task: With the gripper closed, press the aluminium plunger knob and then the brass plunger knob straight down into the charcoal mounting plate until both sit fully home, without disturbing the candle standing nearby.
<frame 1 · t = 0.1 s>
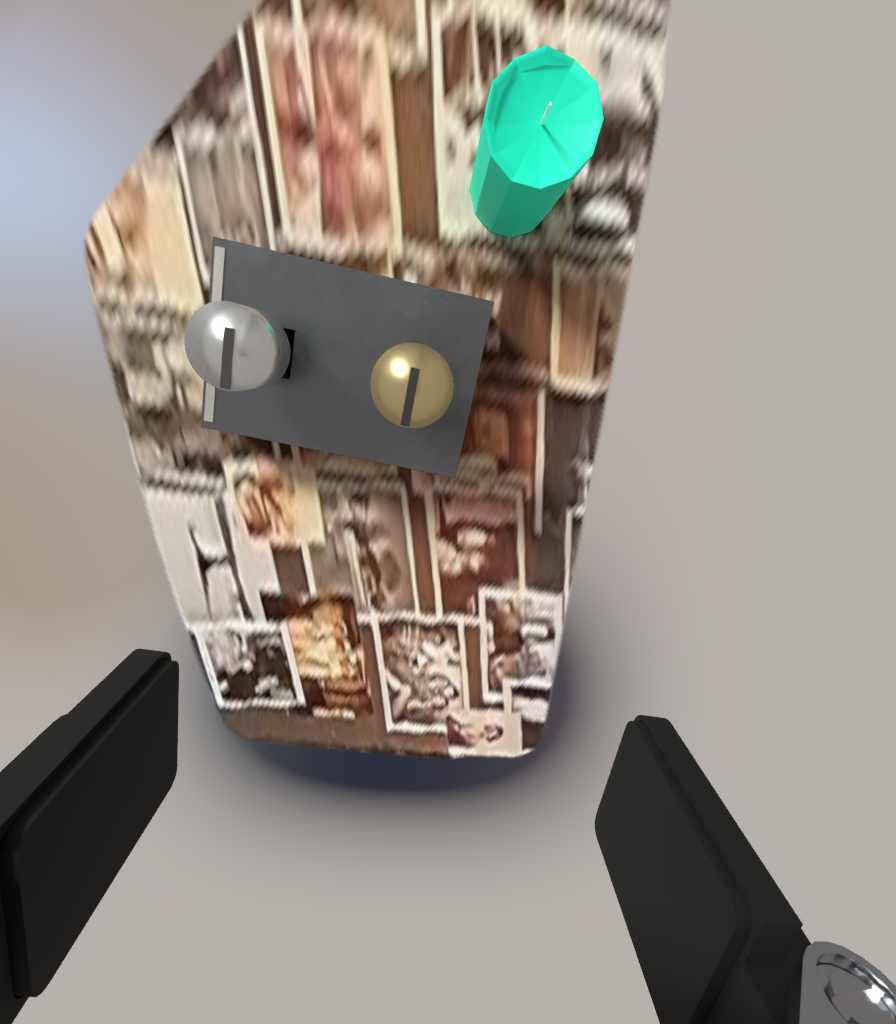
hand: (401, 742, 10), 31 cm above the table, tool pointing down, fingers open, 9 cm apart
mount: (355, 365, 38), on the table
candle: (511, 190, 35), on the table
knob b: (414, 383, 31), point 8 cm above the table, slide at 0.0 cm
knob a: (254, 349, 30), point 8 cm above the table, slide at 0.0 cm
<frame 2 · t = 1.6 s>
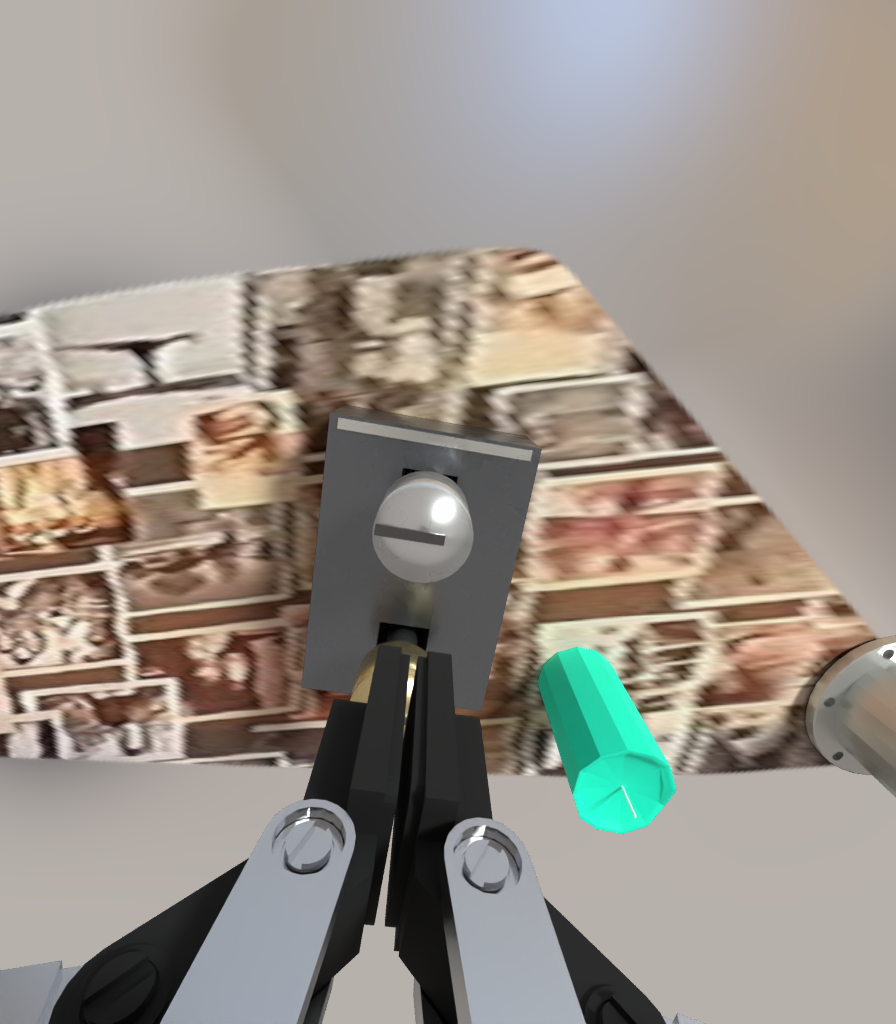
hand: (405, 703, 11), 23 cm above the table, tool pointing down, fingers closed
mount: (416, 547, 35), on the table
candle: (575, 679, 38), on the table
knob b: (398, 671, 29), point 8 cm above the table, slide at 0.0 cm
knob a: (425, 511, 26), point 8 cm above the table, slide at 0.0 cm
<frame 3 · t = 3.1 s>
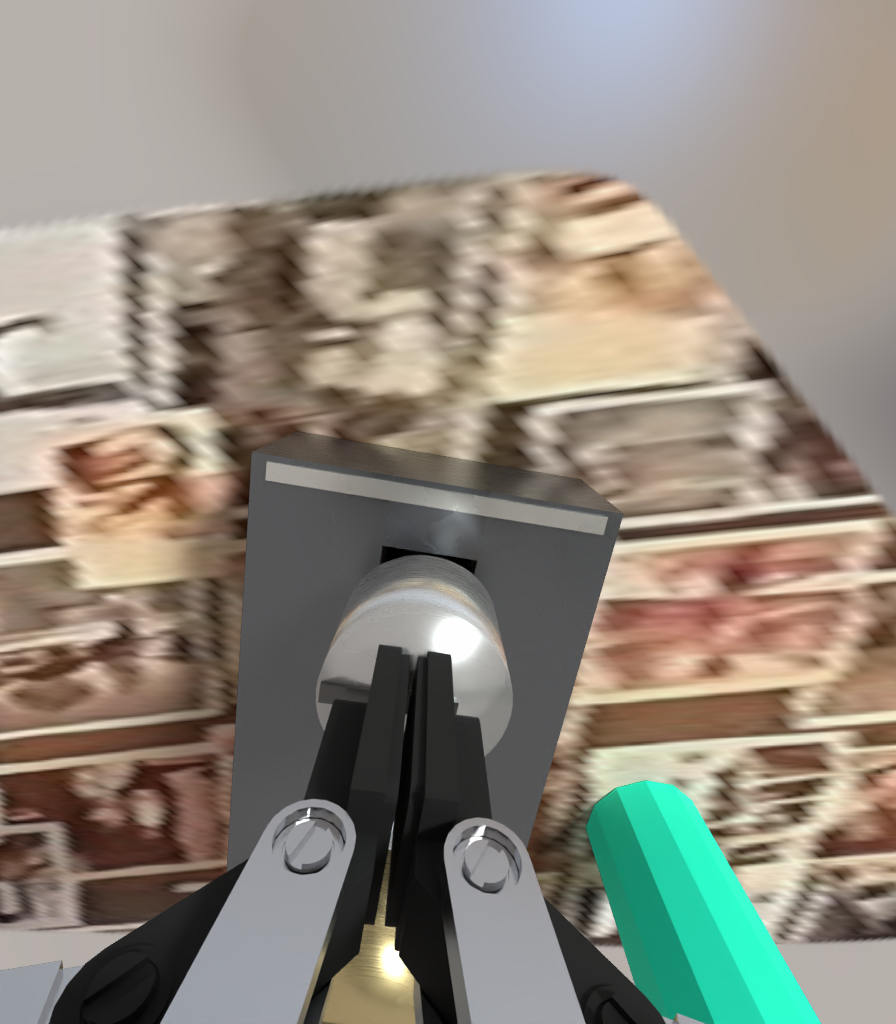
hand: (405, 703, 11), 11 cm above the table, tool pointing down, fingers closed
mount: (409, 643, 23), on the table
candle: (639, 821, 26), on the table
knob b: (374, 887, 17), point 8 cm above the table, slide at 0.0 cm
knob a: (420, 619, 15), point 7 cm above the table, slide at 1.0 cm, touching gripper
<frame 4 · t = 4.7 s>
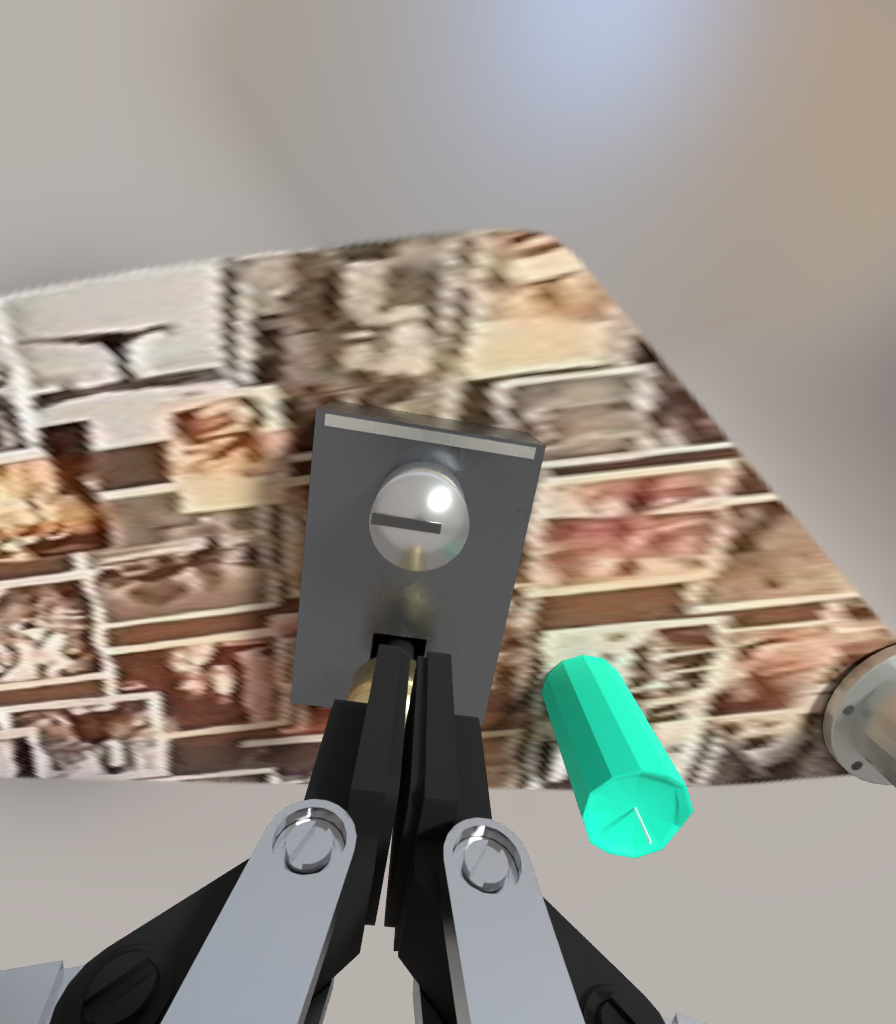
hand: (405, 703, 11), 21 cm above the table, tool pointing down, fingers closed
mount: (412, 551, 33), on the table
candle: (580, 688, 36), on the table
knob b: (393, 687, 27), point 8 cm above the table, slide at 0.0 cm
knob a: (421, 501, 26), point 5 cm above the table, slide at 2.4 cm
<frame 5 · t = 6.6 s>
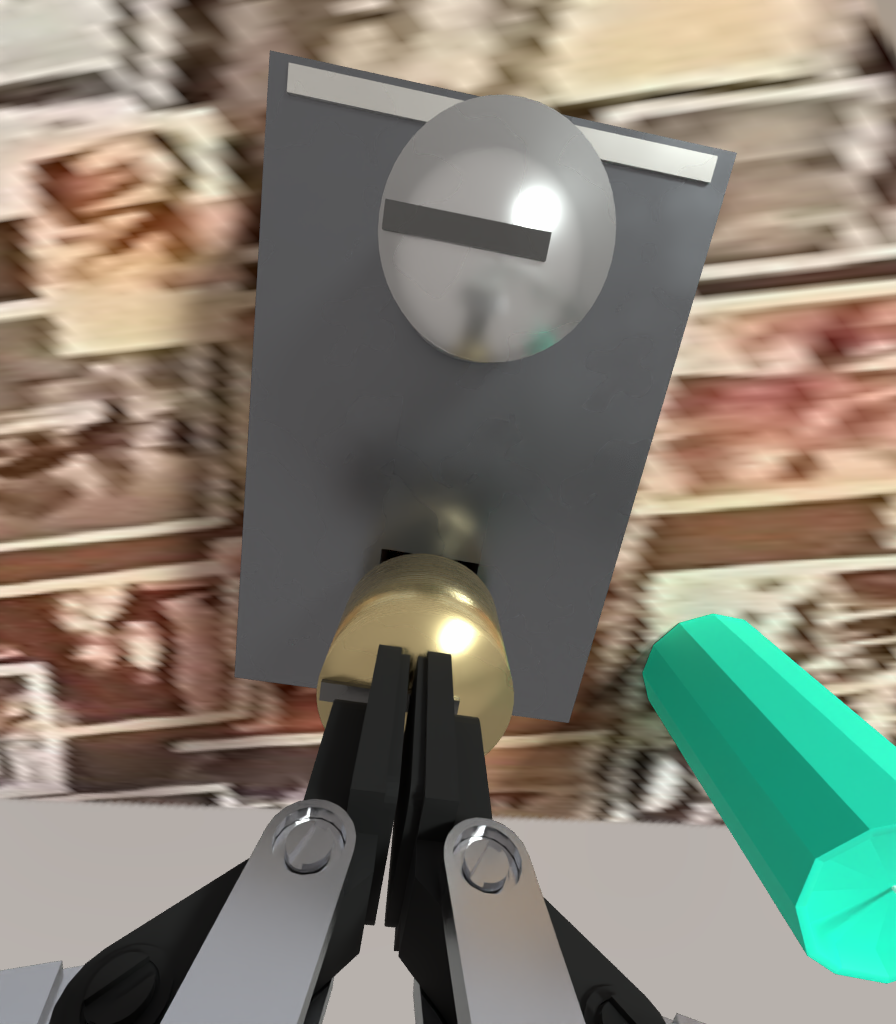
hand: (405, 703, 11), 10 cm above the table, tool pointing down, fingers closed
mount: (446, 431, 20), on the table
candle: (703, 667, 23), on the table
knob b: (421, 617, 15), point 6 cm above the table, slide at 1.4 cm, touching gripper
knob a: (481, 273, 13), point 5 cm above the table, slide at 2.4 cm
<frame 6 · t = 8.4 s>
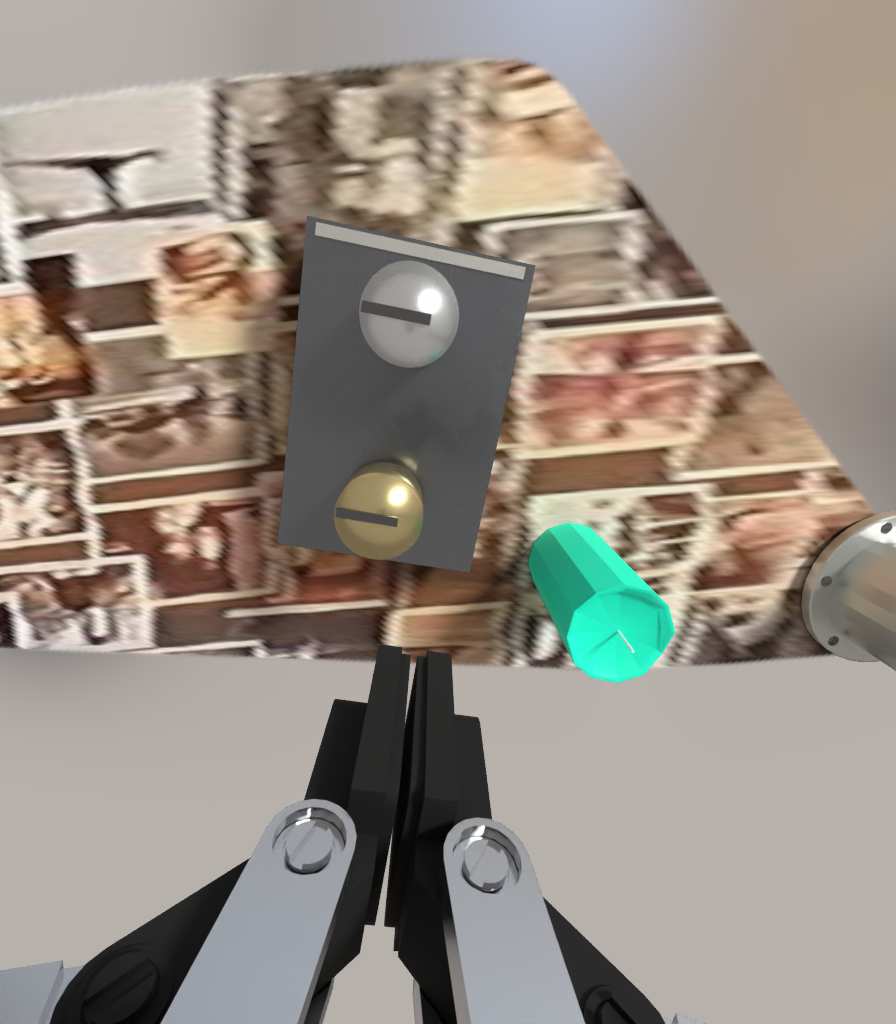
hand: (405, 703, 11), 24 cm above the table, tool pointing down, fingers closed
mount: (401, 406, 33), on the table
candle: (566, 559, 37), on the table
knob b: (384, 498, 29), point 5 cm above the table, slide at 2.4 cm
knob a: (411, 322, 26), point 5 cm above the table, slide at 2.4 cm
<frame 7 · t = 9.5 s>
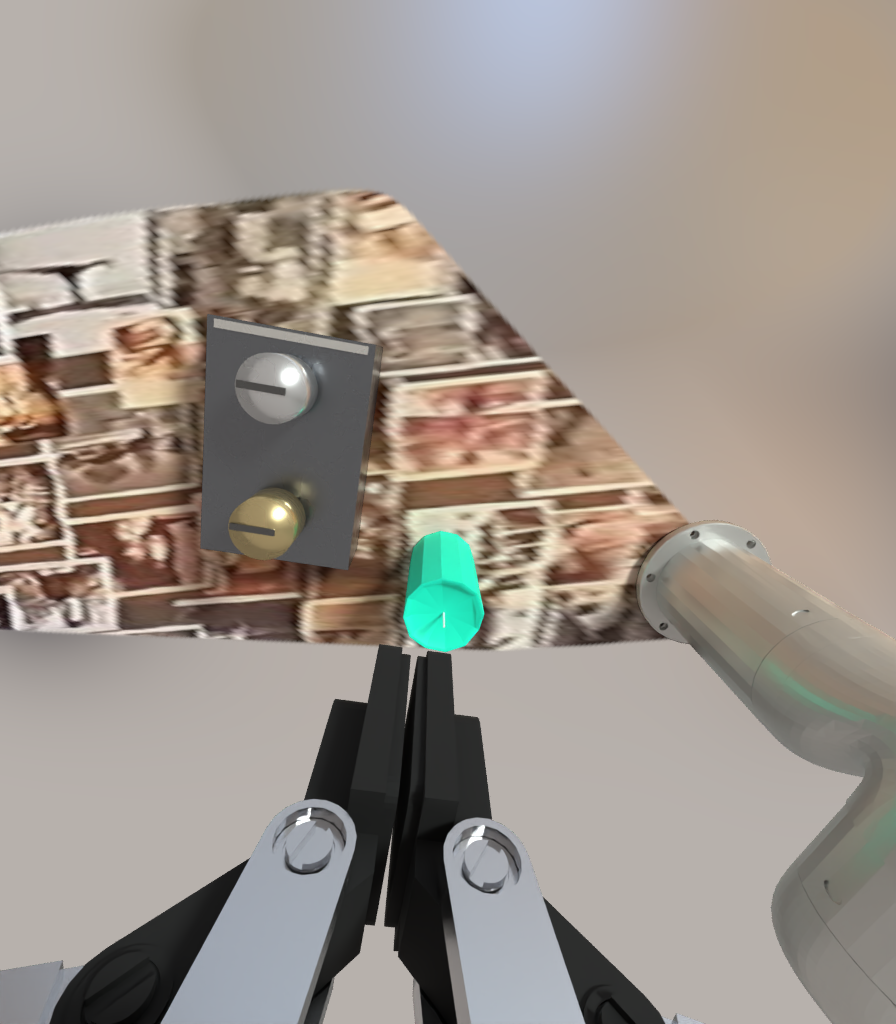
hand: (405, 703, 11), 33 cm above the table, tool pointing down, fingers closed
mount: (300, 442, 42), on the table
candle: (441, 560, 46), on the table
knob b: (277, 514, 39), point 5 cm above the table, slide at 2.4 cm
knob a: (287, 386, 36), point 5 cm above the table, slide at 2.4 cm
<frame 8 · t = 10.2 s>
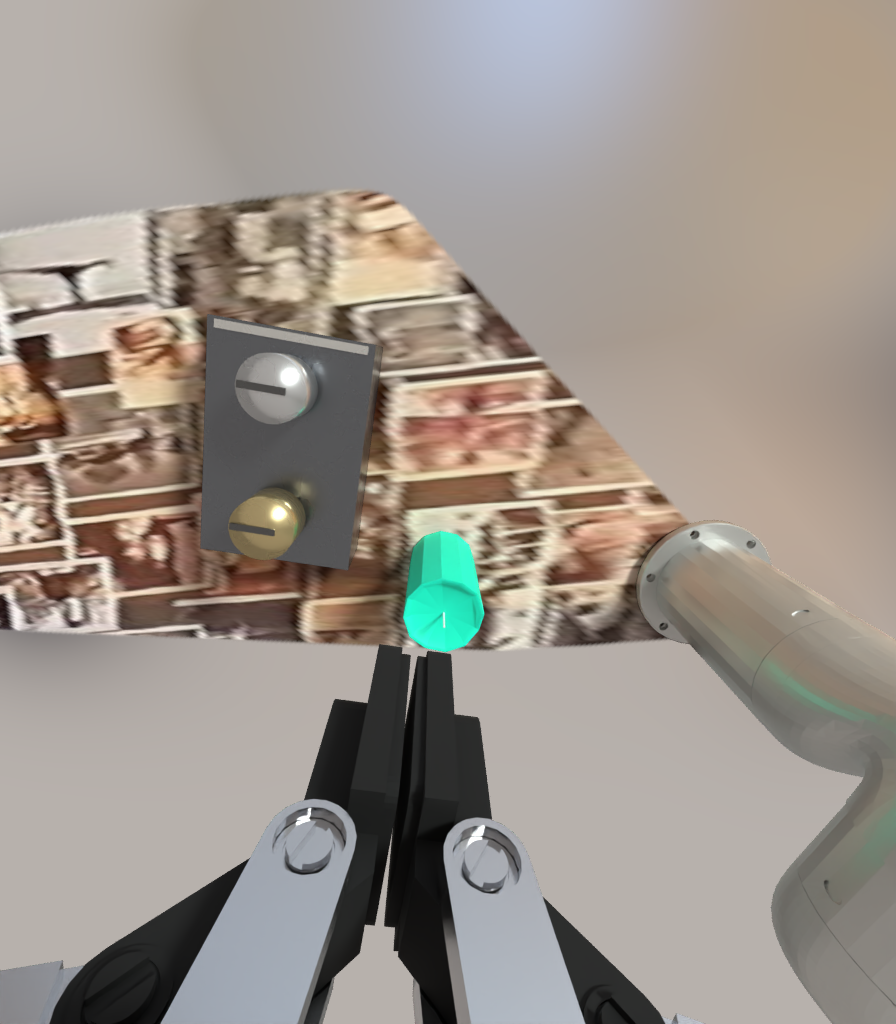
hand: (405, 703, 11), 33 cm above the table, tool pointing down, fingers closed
mount: (300, 442, 42), on the table
candle: (441, 560, 46), on the table
knob b: (277, 514, 39), point 5 cm above the table, slide at 2.4 cm
knob a: (287, 386, 36), point 5 cm above the table, slide at 2.4 cm
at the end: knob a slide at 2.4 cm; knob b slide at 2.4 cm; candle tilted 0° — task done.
